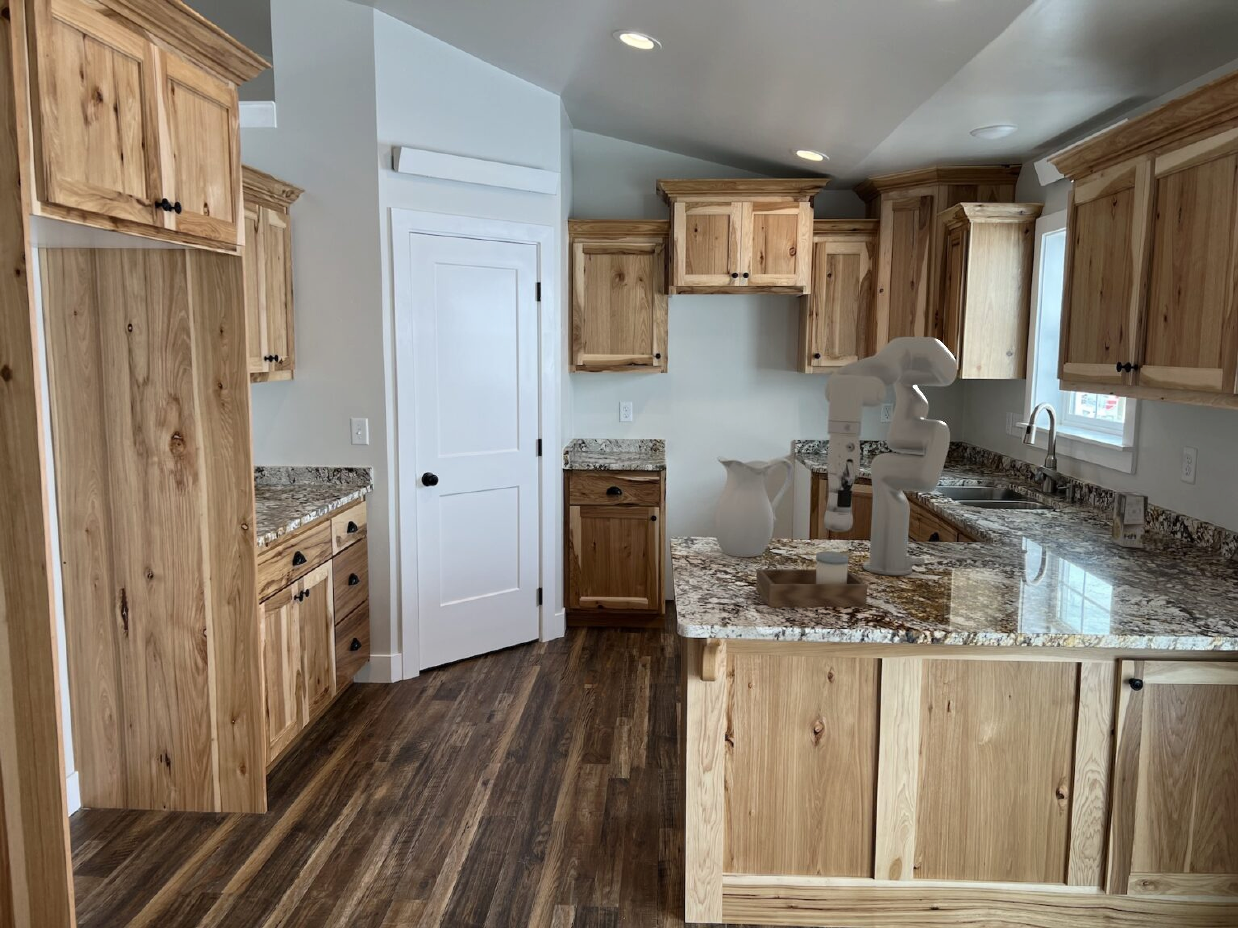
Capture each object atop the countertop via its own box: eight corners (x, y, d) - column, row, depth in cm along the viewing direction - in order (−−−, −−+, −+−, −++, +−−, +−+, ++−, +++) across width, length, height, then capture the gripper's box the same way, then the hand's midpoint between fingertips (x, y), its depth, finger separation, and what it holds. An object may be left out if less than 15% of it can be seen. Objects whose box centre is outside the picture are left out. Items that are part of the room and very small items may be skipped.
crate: (845, 593, 204) (846, 569, 203) (866, 610, 190) (867, 585, 189) (755, 593, 203) (756, 569, 202) (770, 611, 189) (771, 585, 188)
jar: (840, 593, 201) (842, 551, 199) (851, 602, 193) (853, 558, 192) (810, 593, 200) (812, 551, 199) (819, 602, 193) (821, 558, 191)
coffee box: (1144, 548, 259) (1149, 496, 257) (1121, 546, 260) (1126, 495, 258) (1132, 541, 268) (1137, 491, 266) (1110, 540, 269) (1115, 490, 267)
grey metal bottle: (830, 527, 205) (835, 445, 203) (856, 531, 201) (862, 448, 199) (818, 530, 200) (823, 447, 198) (845, 534, 196) (850, 449, 194)
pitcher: (726, 561, 234) (729, 461, 230) (704, 547, 250) (707, 454, 246) (804, 557, 240) (809, 460, 236) (778, 544, 256) (781, 453, 252)
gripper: (873, 432, 190) (868, 511, 192) (846, 426, 207) (842, 499, 209) (841, 431, 189) (836, 510, 191) (817, 425, 206) (812, 499, 208)
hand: (839, 504), depth 200 cm, fingers closed on grey metal bottle, 5 cm apart
